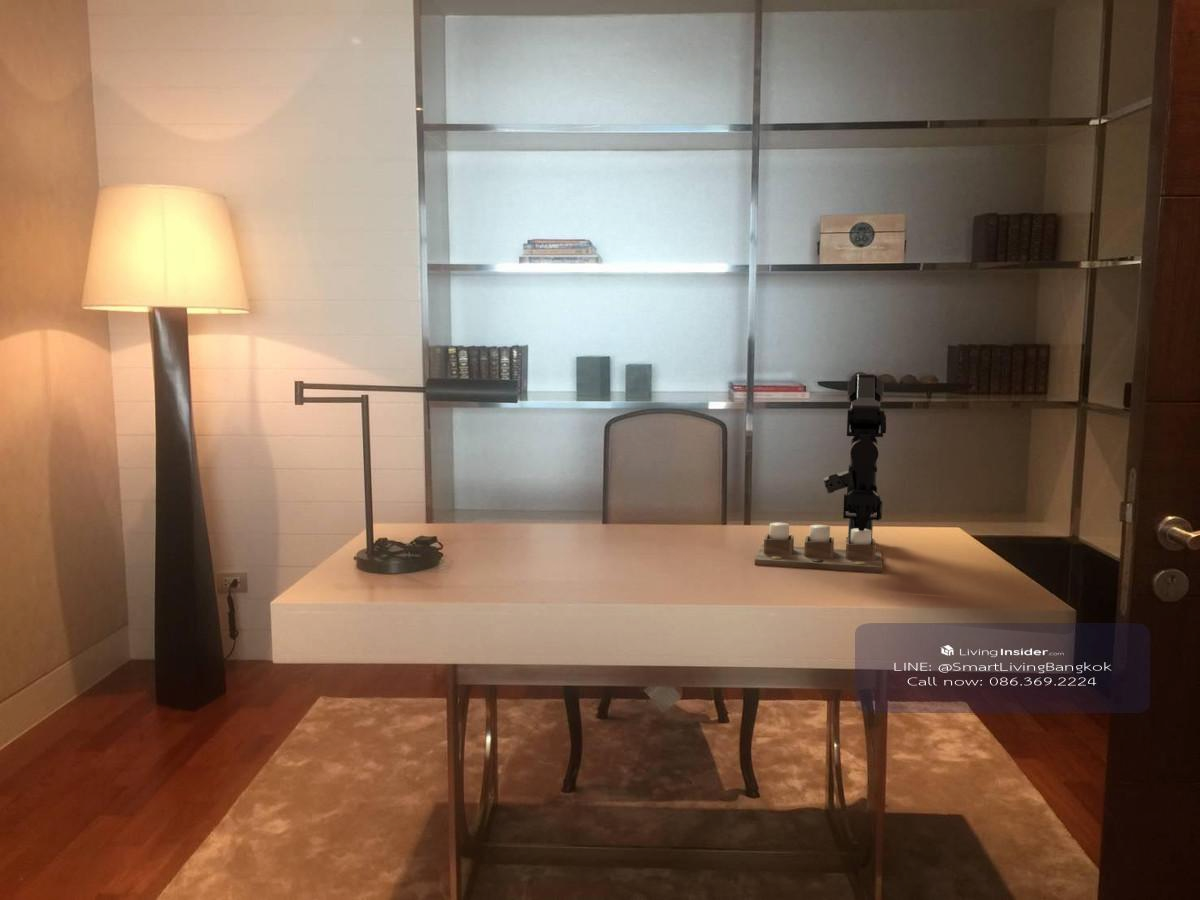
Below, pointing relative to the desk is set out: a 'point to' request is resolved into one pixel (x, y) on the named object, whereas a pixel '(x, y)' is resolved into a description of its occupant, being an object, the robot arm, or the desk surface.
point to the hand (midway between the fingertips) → (861, 530)
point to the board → (819, 555)
